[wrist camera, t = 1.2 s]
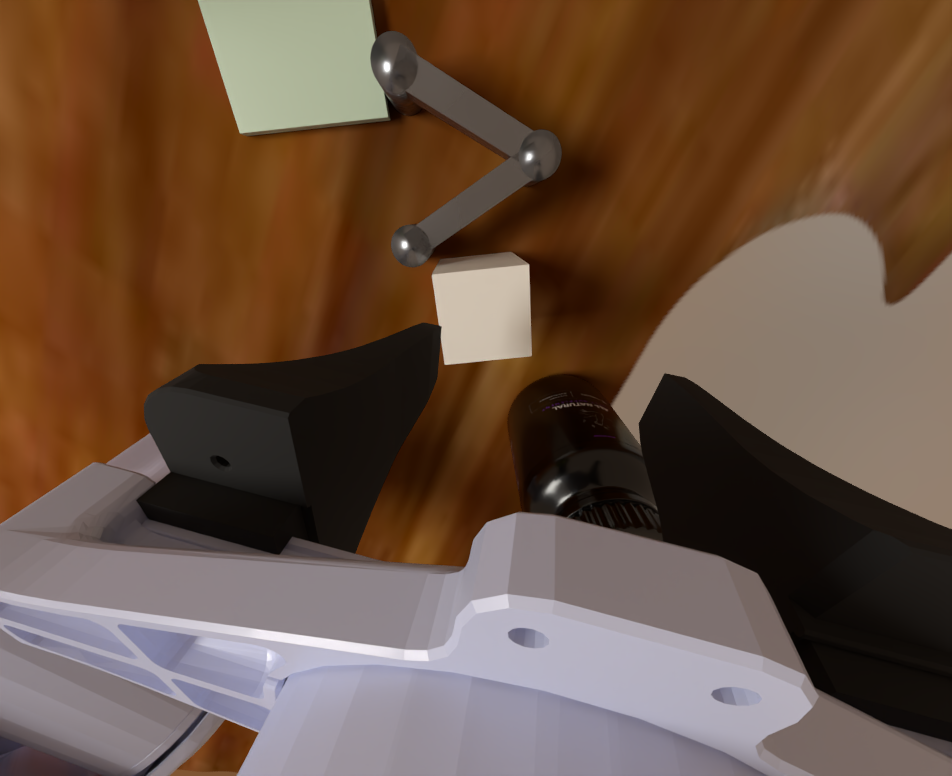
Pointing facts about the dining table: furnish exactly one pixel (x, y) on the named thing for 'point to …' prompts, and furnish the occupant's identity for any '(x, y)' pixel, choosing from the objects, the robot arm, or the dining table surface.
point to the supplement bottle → (579, 458)
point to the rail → (474, 116)
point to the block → (483, 307)
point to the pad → (296, 62)
